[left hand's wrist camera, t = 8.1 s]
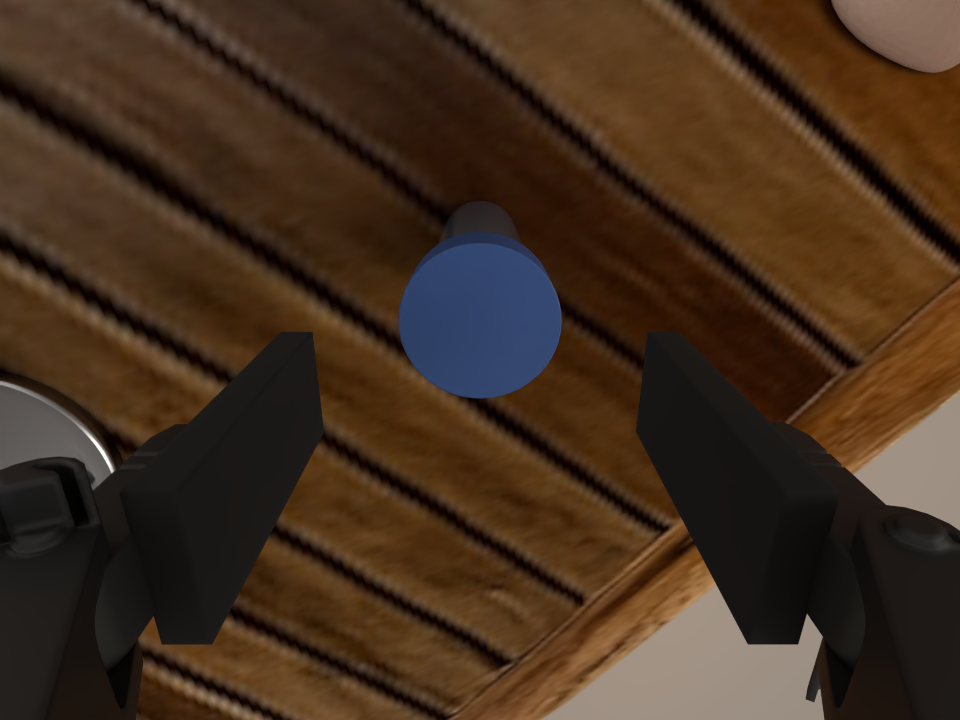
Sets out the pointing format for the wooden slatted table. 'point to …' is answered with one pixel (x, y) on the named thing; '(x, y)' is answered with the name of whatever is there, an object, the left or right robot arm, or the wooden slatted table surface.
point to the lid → (479, 316)
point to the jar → (480, 221)
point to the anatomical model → (906, 30)
